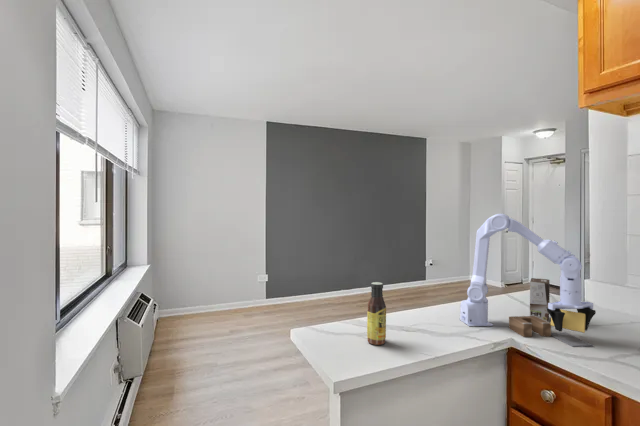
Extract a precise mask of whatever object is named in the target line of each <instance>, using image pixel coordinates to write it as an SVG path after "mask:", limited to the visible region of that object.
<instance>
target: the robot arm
mask: <svg viewBox="0 0 640 426" xmlns="http://www.w3.org/2000/svg"><path fill="white" fill-rule="evenodd" d="M506 229H507V232H512V233H516V234H518V235H520V236H521V237H523V238H524V239H526V240H527V241H528V242H530V243H532V244H533V245H535V246H536V247H537V252H538V253H540V254H541V255H542V256H544V257H545V258H546V259H548V260H549V261H551V262H552V263H554V264H557V265H559V268H560V275H559V300H558V301H555V302H550V303H548V307H547V311H548V313H549V317H550V319H551V318H552V320H553V323H554V326H555V327H554V326H553V327H554V329H555V330H556V331H557V332H563V328H562V325H563V318H564V315H565V313H563V312H561V310H576V312H578V313H583V314H585V315H586V320H585V332H586V331H588V329H589V325H590V323H591V320H592V318H593V317H594V316H595V315H596V310H595V309H594V303H593V302H590V301H582V278H581V271H582V268H583V265H582V263H581V260H579V258H578V257H577V256H576V255H575V254H572V251H570V250H568V251H567V250H566V249H565V248H563V247H561V246H560V245H559V243H558V242H557V241H556V240H552V239H544V238H542V237H541V236H540V235H538V234H536V232H534V231H532V229H530V228H529V227H527V226H526V225H524V224H523V223H521V222H520V221H518V220H516V219H515V218H512V217H509V215H507V214H505V213H496V214H493V215H492V216H490V217H488V218H487V219H486V220H485V221H484V222H483V224H481V226H480V227H479V228H478V229H477V230H476V235H475V236H476V237H475V247H474V257H473V268H472V275H471V279H470V285H469V287H468V288H467V291H466V294H467V298H466V299H463V300H461V301H460V306H459V308H460V315H459V316H460V317H459V320H460V321H461V322H462V323H464V324H465V325H467V326H469V327H489V326H490V327H493V326H494V324H493V323H491V322H489V299H488V298H487V296H486V295H487V294H488V292H489V287H488V285H487V270H488V260H489V252H490V251H489V250H490V249H489V248H490V239H491V237H492V236H493V235H495V234H497V233H499V232H502V231H505V230H506ZM560 309H561V310H560Z"/></svg>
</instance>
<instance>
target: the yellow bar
mask: <svg viewBox="0 0 640 426" xmlns="http://www.w3.org/2000/svg"><path fill="white" fill-rule="evenodd" d="M560 310H561V312H563V313H565V315H564V318H563V325H562V329H563V330H564V329H565V330H570V331H573V332H574V331H575V332H578V333H583V334H585V333H586V331H585V320H586V315H585V314H583V313H578V311H571V310H568V309H560ZM550 323H551V327H554V328H555V326H554V323H553V320H552V318H551V317H550Z"/></svg>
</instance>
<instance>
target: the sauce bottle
mask: <svg viewBox="0 0 640 426" xmlns="http://www.w3.org/2000/svg"><path fill="white" fill-rule="evenodd" d="M370 288H371V291H370V292H371V294H370V295H371V296H370V298H369V299H368V301H367V313H366V314H367V316H366V318H367V319H366V333H367V334H366V337H367V338H366V339H367V342H368V343H369V344H370V345H374V346H381V345H384V344H385V342H386V338H387V306H386V303H385V299H384V297H383V296H384V295H383V293H384V292H383V288H384V284H383V282H379V281H375V282H374V281H373V282H371V283H370Z"/></svg>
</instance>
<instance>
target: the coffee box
mask: <svg viewBox="0 0 640 426" xmlns="http://www.w3.org/2000/svg"><path fill="white" fill-rule="evenodd" d="M529 282H530V283H529V316H535V317H538V318H540V319H542V320H544V321H546V322H550V314H549V313H548V311H547V307H548V303H551V302H550V299H551V298H550V295H551V294H550V291H551V289H550V286H551V285H550V279H548V278H547V279H546V278H535V277H533V278H532V277H531V279H530V281H529Z"/></svg>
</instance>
